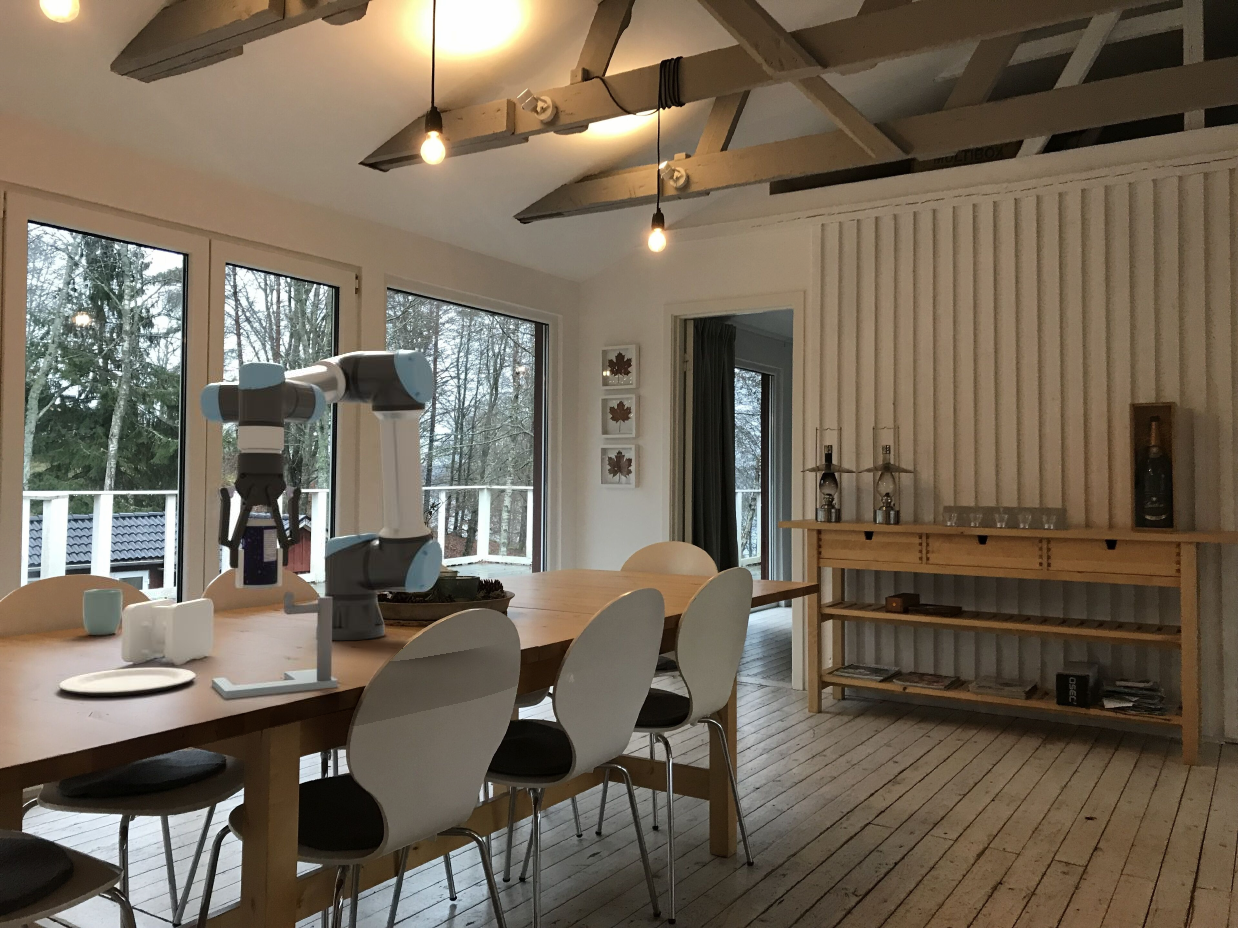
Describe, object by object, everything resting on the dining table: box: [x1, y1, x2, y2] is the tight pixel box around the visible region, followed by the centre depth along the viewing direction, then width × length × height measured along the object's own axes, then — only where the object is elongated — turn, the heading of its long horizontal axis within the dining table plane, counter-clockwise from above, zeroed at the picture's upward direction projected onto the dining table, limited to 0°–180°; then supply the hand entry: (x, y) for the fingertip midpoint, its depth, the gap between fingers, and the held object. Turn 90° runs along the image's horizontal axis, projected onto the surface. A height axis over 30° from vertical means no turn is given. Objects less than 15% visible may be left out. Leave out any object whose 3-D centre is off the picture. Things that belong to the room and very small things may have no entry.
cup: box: [82, 588, 123, 636], centre depth 222 cm, size 8×8×10 cm
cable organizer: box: [121, 598, 215, 666], centre depth 189 cm, size 15×11×12 cm
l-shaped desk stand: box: [211, 590, 339, 700], centre depth 165 cm, size 18×12×17 cm, turn 122°
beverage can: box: [241, 517, 278, 591], centre depth 167 cm, size 6×6×12 cm
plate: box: [58, 667, 197, 697], centre depth 165 cm, size 21×21×2 cm
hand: (258, 586), depth 166 cm, fingers closed on beverage can, 6 cm apart
